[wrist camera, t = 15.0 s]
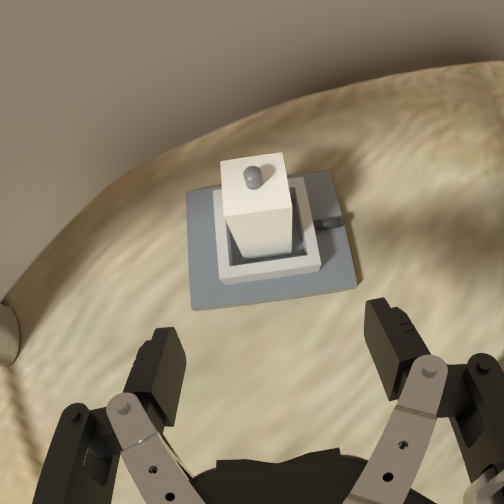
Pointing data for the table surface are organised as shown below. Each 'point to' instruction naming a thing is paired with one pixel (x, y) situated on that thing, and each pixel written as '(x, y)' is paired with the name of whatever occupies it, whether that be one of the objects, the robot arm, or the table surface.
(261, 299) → the charging dock
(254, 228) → the block
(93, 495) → the robot arm
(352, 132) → the table surface
